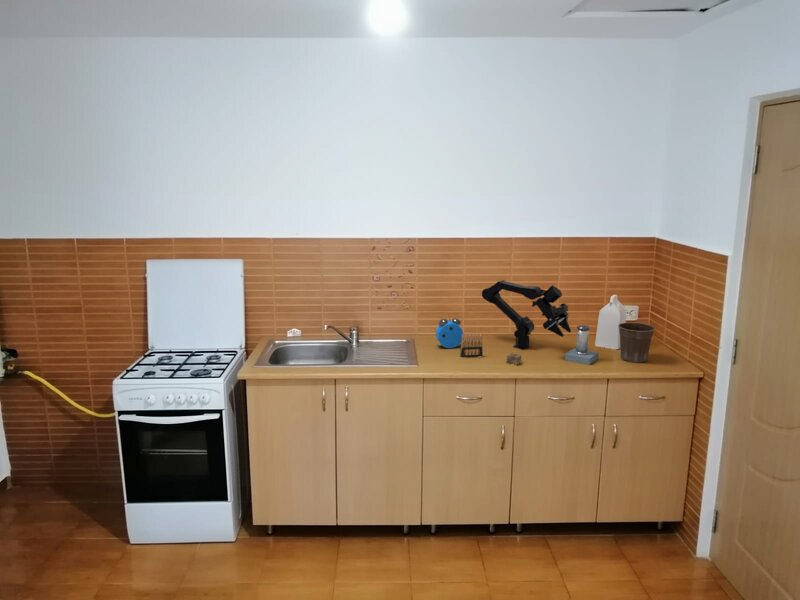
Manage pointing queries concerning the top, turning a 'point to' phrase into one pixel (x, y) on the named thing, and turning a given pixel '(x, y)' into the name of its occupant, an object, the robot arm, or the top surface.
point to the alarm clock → (449, 333)
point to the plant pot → (635, 341)
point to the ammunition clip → (471, 346)
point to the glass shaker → (582, 339)
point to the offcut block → (513, 358)
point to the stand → (581, 357)
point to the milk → (610, 324)
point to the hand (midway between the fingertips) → (566, 334)
